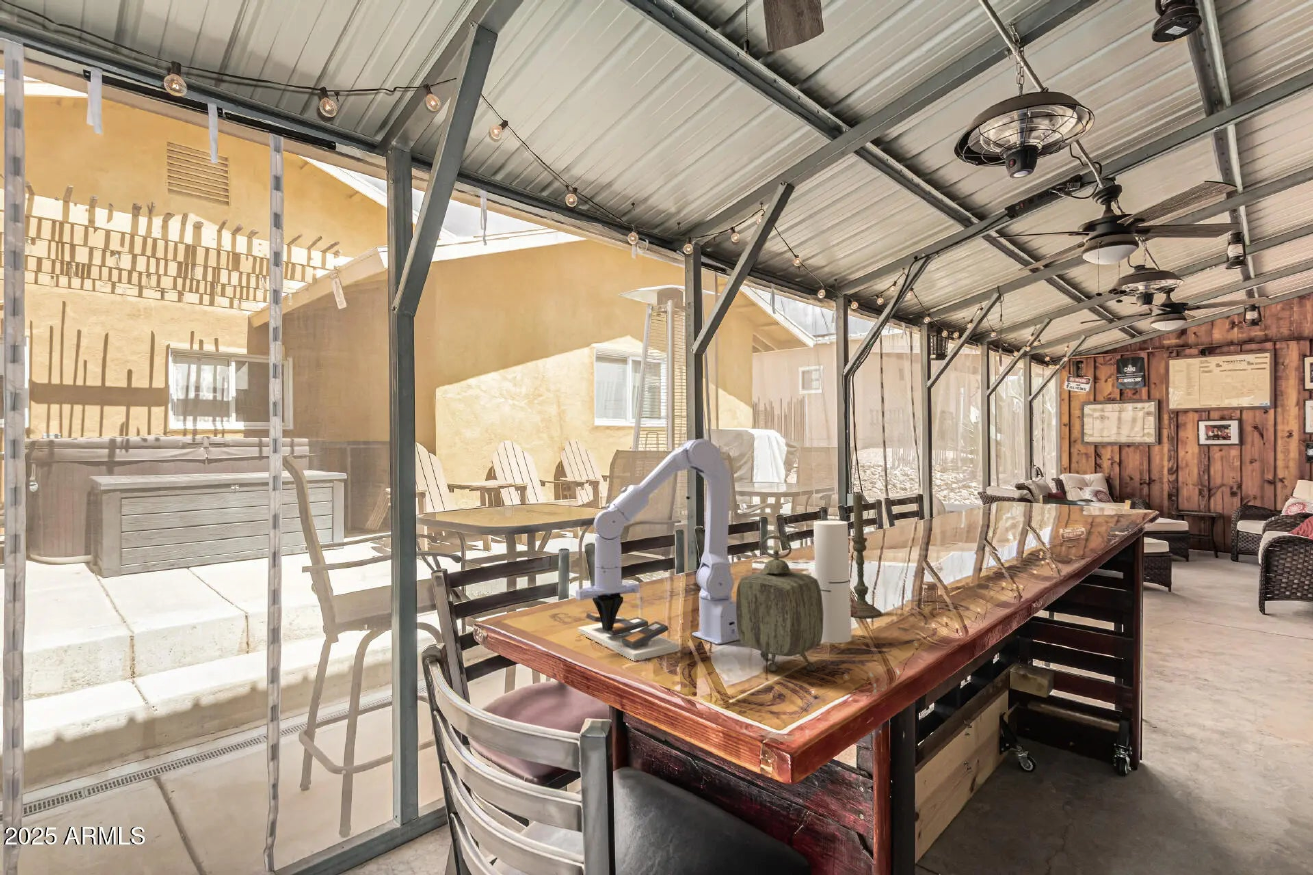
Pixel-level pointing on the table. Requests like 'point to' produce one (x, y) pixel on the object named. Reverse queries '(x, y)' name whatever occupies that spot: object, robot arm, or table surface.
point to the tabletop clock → (779, 610)
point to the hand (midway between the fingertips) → (607, 629)
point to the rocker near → (644, 634)
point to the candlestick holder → (860, 565)
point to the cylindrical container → (833, 579)
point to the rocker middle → (627, 626)
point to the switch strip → (640, 652)
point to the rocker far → (597, 619)
